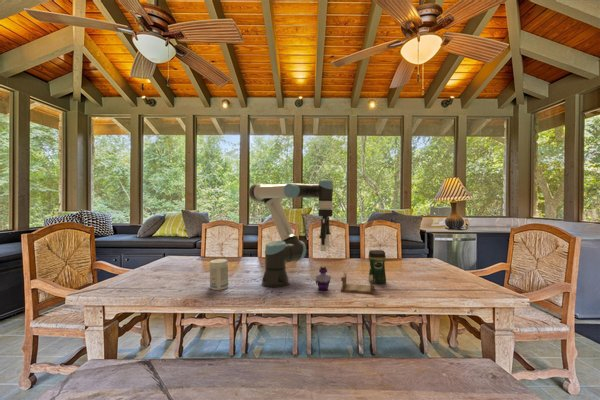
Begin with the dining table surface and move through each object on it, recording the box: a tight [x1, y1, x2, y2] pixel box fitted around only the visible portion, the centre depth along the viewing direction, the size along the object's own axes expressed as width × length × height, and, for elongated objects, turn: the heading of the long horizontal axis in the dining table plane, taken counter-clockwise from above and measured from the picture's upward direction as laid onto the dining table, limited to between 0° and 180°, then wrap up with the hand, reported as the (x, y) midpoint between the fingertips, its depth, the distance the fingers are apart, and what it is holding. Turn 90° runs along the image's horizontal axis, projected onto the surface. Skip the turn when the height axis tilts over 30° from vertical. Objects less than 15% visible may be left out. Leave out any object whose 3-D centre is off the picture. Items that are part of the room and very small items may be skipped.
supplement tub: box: [209, 258, 229, 291], centre depth 150 cm, size 10×10×15 cm
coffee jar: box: [368, 249, 387, 285], centre depth 160 cm, size 10×8×19 cm
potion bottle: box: [315, 265, 332, 292], centre depth 147 cm, size 9×9×12 cm
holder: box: [340, 272, 375, 295], centre depth 147 cm, size 17×10×7 cm, turn 75°
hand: (325, 248), depth 148 cm, fingers open, 13 cm apart
